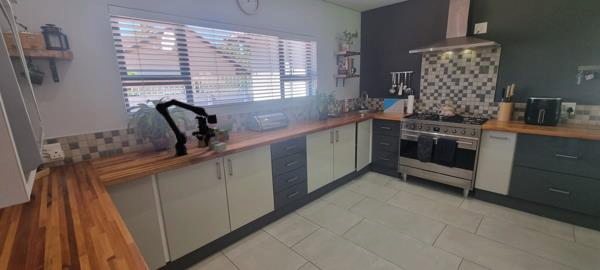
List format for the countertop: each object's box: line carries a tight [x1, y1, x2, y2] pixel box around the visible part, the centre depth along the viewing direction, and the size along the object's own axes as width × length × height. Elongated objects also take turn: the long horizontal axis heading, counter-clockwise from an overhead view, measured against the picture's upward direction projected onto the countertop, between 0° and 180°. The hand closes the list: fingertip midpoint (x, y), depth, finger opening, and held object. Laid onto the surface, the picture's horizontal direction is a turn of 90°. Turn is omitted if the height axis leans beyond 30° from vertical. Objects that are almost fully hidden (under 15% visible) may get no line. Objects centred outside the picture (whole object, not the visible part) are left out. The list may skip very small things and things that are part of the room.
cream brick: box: [213, 142, 227, 153], centre depth 187 cm, size 8×4×5 cm, turn 155°
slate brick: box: [208, 141, 222, 151], centre depth 193 cm, size 8×4×5 cm, turn 142°
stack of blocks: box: [203, 127, 230, 143], centre depth 214 cm, size 21×6×12 cm, turn 144°
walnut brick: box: [197, 139, 211, 149], centre depth 183 cm, size 8×4×5 cm, turn 153°
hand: (204, 145), depth 183 cm, fingers closed on walnut brick, 5 cm apart
